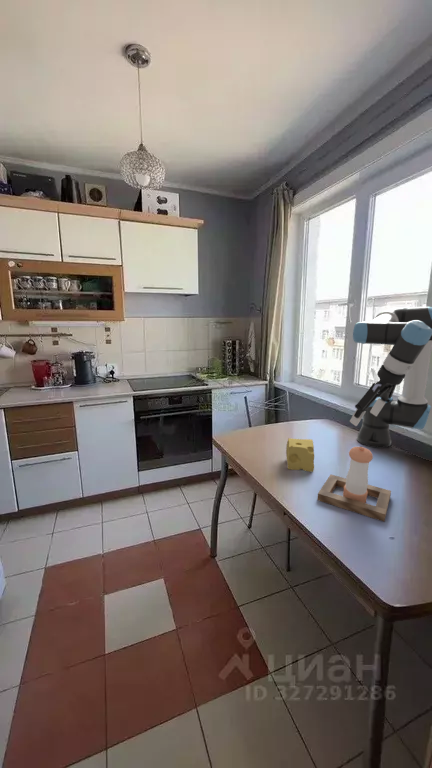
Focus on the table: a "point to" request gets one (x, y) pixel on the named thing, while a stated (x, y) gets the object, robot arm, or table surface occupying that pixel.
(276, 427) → the table surface
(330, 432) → the table surface
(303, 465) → the cheese
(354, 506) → the rail frame
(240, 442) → the table surface
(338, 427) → the table surface
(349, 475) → the salt shaker
